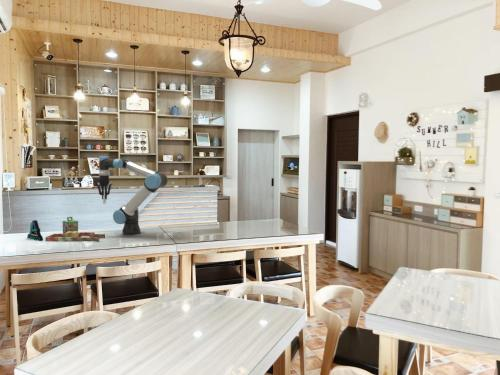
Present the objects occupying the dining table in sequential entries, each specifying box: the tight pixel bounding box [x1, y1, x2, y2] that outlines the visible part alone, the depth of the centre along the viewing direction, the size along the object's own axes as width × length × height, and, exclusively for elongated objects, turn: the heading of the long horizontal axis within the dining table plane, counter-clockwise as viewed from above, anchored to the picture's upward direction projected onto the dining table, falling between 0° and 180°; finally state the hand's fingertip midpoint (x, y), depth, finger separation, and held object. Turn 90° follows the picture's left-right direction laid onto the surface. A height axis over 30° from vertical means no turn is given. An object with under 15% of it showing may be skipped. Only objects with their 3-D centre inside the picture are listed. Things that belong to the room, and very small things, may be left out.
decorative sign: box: [26, 219, 44, 242], centre depth 327 cm, size 19×2×15 cm, turn 56°
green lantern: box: [62, 216, 79, 234], centre depth 347 cm, size 9×9×15 cm
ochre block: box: [66, 230, 79, 237], centre depth 329 cm, size 7×7×6 cm
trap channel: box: [45, 231, 106, 243], centre depth 332 cm, size 40×22×3 cm, turn 92°
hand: (104, 203), depth 347 cm, fingers closed
